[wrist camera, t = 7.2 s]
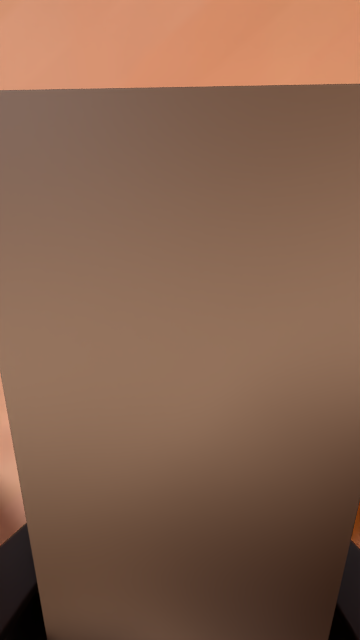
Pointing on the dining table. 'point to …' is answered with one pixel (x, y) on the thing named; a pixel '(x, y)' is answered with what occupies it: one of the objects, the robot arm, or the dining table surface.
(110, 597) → the strut
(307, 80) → the dining table surface
